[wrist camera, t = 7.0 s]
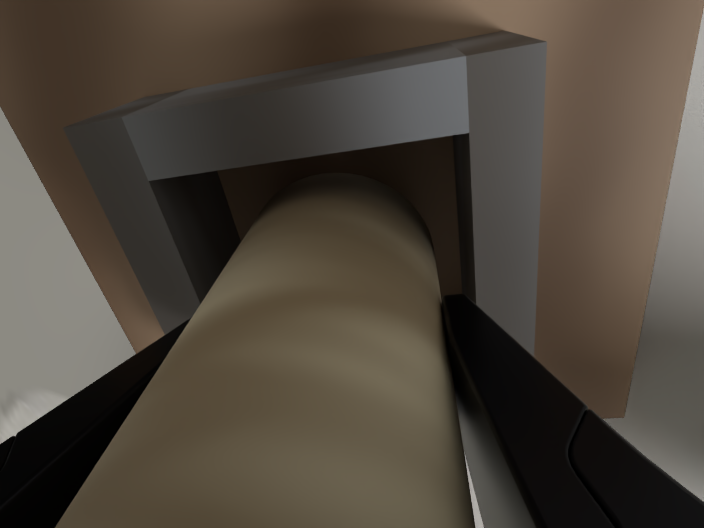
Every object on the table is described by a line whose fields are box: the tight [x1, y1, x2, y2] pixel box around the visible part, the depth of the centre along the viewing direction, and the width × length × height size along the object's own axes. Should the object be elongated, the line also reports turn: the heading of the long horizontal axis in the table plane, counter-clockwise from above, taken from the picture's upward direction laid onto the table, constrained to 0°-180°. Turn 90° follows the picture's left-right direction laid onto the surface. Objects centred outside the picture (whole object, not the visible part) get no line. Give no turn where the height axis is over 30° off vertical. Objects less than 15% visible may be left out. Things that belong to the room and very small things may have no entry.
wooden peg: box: [55, 173, 475, 528], centre depth 7 cm, size 4×4×9 cm
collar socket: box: [0, 0, 704, 418], centre depth 11 cm, size 16×16×4 cm
